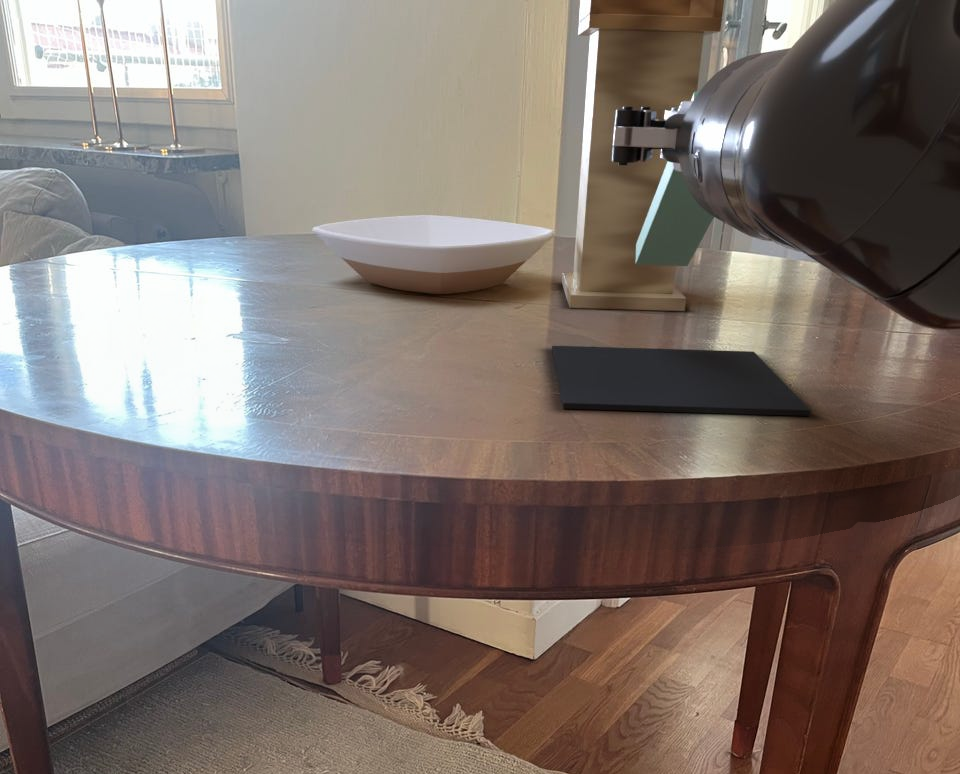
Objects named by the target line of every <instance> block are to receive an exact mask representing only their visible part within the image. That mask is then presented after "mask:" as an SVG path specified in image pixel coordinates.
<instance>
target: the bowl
mask: <svg viewBox="0 0 960 774" xmlns="http://www.w3.org/2000/svg"><path fill="white" fill-rule="evenodd" d="M312 232H313V234H315V235H316V236H317V237H318V238H319V239H320V240H321V241H322V242H323V243H324V244H326V245H327V246H328V248H330V250H332V251H333V252H334V253H335V254H336V255H337V256H338V257H339V258H341V259H342V260H343V261H344V262H345V263H346V264H347V265H348V266H349V267H350V268H351V269H352V270H354V271H355V272H356V273H357V274H358V275H359V276H360V277H361V279H363V280H364V281H365V282H368V283H370V284H372V285H376V286H380V287H385V288H389V289H393V290H398V291H399V290H400V291H405V292H413V293H421V294H428V295H429V294H430V295H451V294H460V293H468V292H475V291H480V290H485V289H489V288H492V287H496V286H499V285H501V284H503V283H504V282H506V281H507V280H508V279H510V277H511V276H513V274H514V273H515V272H516V271H518V270H519V268H521V267H522V266H523V265H525V263H526V262H527V261H528V260H530V259H531V258H532V257H533V256H534V255H535V254H536V253H537V252H539V250H540V249H542V247H544V246H545V244H546V243H548V242H549V241H550V240H551V239H552V238H553V237H554V236H555V234H556V232H555V230H554V229H550V228H546V227H541V226H534V225H530V224H522V223H517V222H509V221H502V220H493V219H492V220H491V219H483V218H472V217H463V216H462V217H461V216H449V215H435V214H419V215H418V214H416V215H397V216H384V217H383V216H382V217H373V218H361V219H353V220H345V221H337V222H330V223H324V224H321V225H317V226H314V227H313V228H312Z"/></svg>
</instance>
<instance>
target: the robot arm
mask: <svg viewBox="0 0 960 774" xmlns="http://www.w3.org/2000/svg"><path fill="white" fill-rule="evenodd" d="M698 92H699V93H698V95H697V96H696V98H695V99H694V101H683V102H682V103H681V105H680V108H672V111H667V110H665V117H664V120H660V119H657V120H656V113H657V110H650V109H651V107H642V110H633V107H624V106H623V110H616V118H615V125H617V126H615V127H614V139H613V152H612V162H618V165H628V163H634V162H646V161H647V160H648V159H652V151H653V150H652V149H661V154H660V158H662V159H666V161H667V162H672V163H673V167H674V170H675V171H679V172H682V174H683V177H684V180H685V182H686V185H687V187H688V189H689V191H690V193H691V194H692V196H693V197H694V199H695V200H696V201H697V203H698V204H699V205H700V206H701V207H702V208H703V209H704V210H705V211H706V212H708V213H709V214H710V215H712V216H714V218H715V219H717V220H719V221H720V222H722V223H724V224H725V225H728V226H730V227H732V228H734V229H735V230H737V231H739V232H740V233H742V234H744V235H746V236H749V237H751V238H755V239H758V240H760V241H766V242H772V243H775V244H776V245H779V246H782V247H783V248H786V249H789V250H792V251H795V252H800V253H803V254H804V255H807V256H808V257H809V258H811V259H812V260H814V261H815V262H817V263H819V264H820V265H822V266H823V267H825V268H826V269H828V270H830V272H833V273H834V274H836V275H837V276H839V277H840V278H842V279H843V280H845V281H847V282H848V283H849V284H851V285H853V286H854V287H856V288H858V289H859V290H861V291H862V292H864V293H865V294H867V295H869V296H870V297H871V298H872V299H874V300H875V301H877V302H879V303H880V304H881V305H883V306H884V307H886V308H888V309H889V310H891V311H893V312H894V313H895V314H897V315H899V316H900V317H902V318H903V319H905V320H907V322H910V323H913V324H915V325H917V326H920V327H923V328H926V329H932V330H938V331H955V330H956V331H957V330H960V0H834V1H833V2H832V3H831V4H830V5H829V6H828V7H827V8H826V10H824V12H822V14H820V15H819V17H817V19H816V20H815V21H814V22H813V23H812V25H811V26H809V27H808V29H807V30H806V31H805V32H804V33H803V34H802V35H801V36H800V37H799V38H798V39H797V40H796V42H794V44H793V45H792V46H791V47H789V48H783V49H782V48H781V49H777V50H771V51H765V52H758V53H754V54H749V55H747V56H743V57H741V58H738V59H736V60H734V61H732V62H730V63H729V64H727V65H725V66H724V67H722V68H721V69H720V70H718V72H716V73H715V74H714V75H713V76H712V77H710V79H709V80H708V81H707V82H706V83H705V84H704V85H703V86H702V88H701V89H700V91H698Z"/></svg>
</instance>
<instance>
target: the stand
mask: <svg viewBox="0 0 960 774" xmlns="http://www.w3.org/2000/svg"><path fill="white" fill-rule="evenodd" d="M724 5H725V0H579V14H578V30H577V36H579V37H589V47H588V60H587V73H586V86H585V87H586V89H585V102H584V103H585V104H584V117H583V118H584V119H583V131H582V147H581V160H580V173H579V189H578V201H577V203H578V205H577V217H576V232H575V245H574V246H575V247H574V259H573V272H572V271H571V272H568V271H567V272H566V271H562V276H561V285H562V288H563V291H564V294H565V297H566V300H567V304H568V307H569V308H570V309H593V310H594V309H595V310H597V309H598V310H599V309H600V310H627V311H630V310H631V311H635V310H636V311H661V312H662V311H663V312H664V311H665V312H685V311H686V305H687V298H686V296H685V295H684V294H683V293H682V292H681V291H680V289H678V287H677V286H676V284H675V278H676V277H675V276H676V268H677V266H667V265H636V264H635V263H636V243H637V241H638V238H639V235H640V233H641V230H642V228H643V225H644V222H645V220H646V217H647V214H648V212H649V209H650V207H651V204H652V201H653V199H654V196H655V193H656V191H657V188H658V186H659V183H660V180H661V178H662V175H663V172H664V170H665V167H666V165H667V161H666V159H662V158H660V154H661V149H652V150H653V151H652V159H648V160H647V161H646V162H634V163H628V165H618V162H612V152H613V139H614V127H615V126H617V125H615V118H616V110H623V106H624V107H633V110H642V107H651V109H650V110H657V113H656V120H657V119H660V120H664V117H665V110H667V111H672V108H680V105H681V103H682V102H683V101H691V99H692V96H693V94H694V92H698V85H699V78H700V70H701V60H702V54H703V53H702V52H703V45H704V37H705V36H709V35H711V34H716V33H720V32H721V31H722V23H723V16H724V15H723V14H724V8H725V7H724Z"/></svg>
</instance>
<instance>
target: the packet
mask: <svg viewBox="0 0 960 774" xmlns="http://www.w3.org/2000/svg"><path fill="white" fill-rule="evenodd" d="M699 92H700V91H697V92H694V94H693V96H692V99H691V101H694V99H695V98H696V96H697V95H698V93H699ZM714 218H715V217H714V216H712V215H710V214H709V213H708V212H706V211H705V210H704V209H703V208H702V207H701V206H700V205H699V204H698V203H697V201H696V200H695V199H694V197H693V196H692V194H691V193H690V191H689V189H688V187H687V185H686V182H685V180H684V177H683V174H682V172H679V171H675V170H674V167H673V163H672V162H667V165H666V167H665V170H664V172H663V175H662V178H661V180H660V183H659V186H658V188H657V191H656V193H655V196H654V199H653V201H652V204H651V207H650V209H649V212H648V214H647V217H646V220H645V222H644V225H643V228H642V230H641V233H640V235H639V238H638V241H637V243H636V263H635V264H636V265H667V266H676V267H688V266H689V265H690V263H691V261H692V259H693V257H694V255H695V254H696V252H697V249H698V248H699V246H700V244H701V243H702V240H703V238H704V236H705V235H706V233H707V231H708V229H709V228H710V226H711V224H712V222H713V220H714Z"/></svg>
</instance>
